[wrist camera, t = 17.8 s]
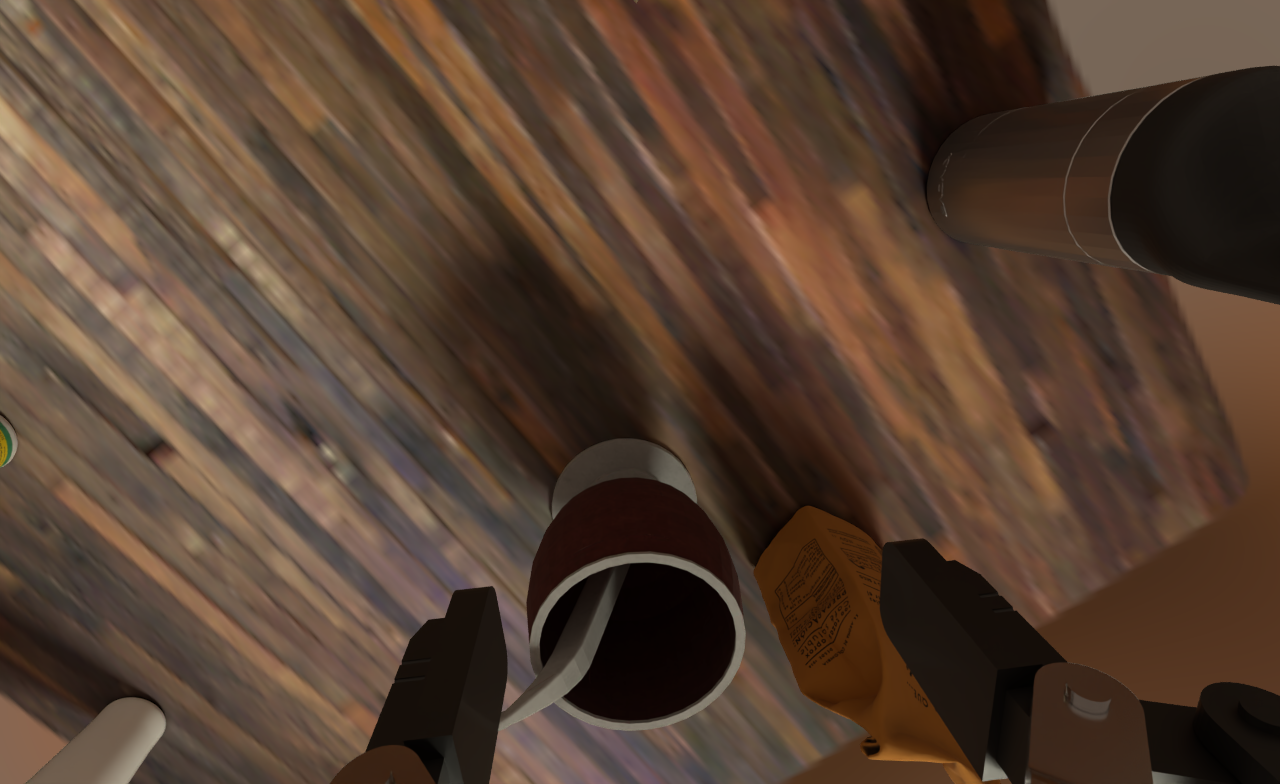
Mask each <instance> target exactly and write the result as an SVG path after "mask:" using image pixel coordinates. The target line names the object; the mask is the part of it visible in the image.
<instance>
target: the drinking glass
mask: <svg viewBox="0 0 1280 784" xmlns="http://www.w3.org/2000/svg"><path fill="white" fill-rule="evenodd" d="M165 727H166V719H165V716H164V714H163V712H162V711H161V709H160V708H159V707H158V706H156V705H155V704H154V703H152V702H150V701H148V700H145V699H142V698H136V697H126V698H121V699H118V700H115V701H113V702H111V703H110V704H108V705H107V706H106V707H105V708H104V709H103V710H102V711H101V712H100V713H99V714H98V715H97V716H96V717H95V718H94V720H93V721H92V722H91V723H90V724H89V725H88V726H86V727H85V728H84V729H83V730H82V731H81V732H80V733H79V734H78V735H77V736H76V737H75V738H74V739H73V740H72V741H70V742H69V743H68V744H67V745H66V746H65V747H64V748H63V749H62V750H61V751H60V752H59V753H58V754H57V755H55V756H54V757H53V758H52V759H51V760H50V761H49V762H48V763H47V764H46V765H45V766H44V767H42V768H41V769H40V770H39V771H38V772H37V773H36V774H35V775H34V776H33V777H32V778H31V779H30V780H28V781H27V782H26V783H25V784H128V783H129V782H130V780H131V779H132V777H133V776H134V774H135V773H136V771H137V770H138V768H139V767H140V765H141V764H142V762H143V761H144V759H145V758H146V756H147V755H148V753H149V752H150V751H151V749H152V748H153V747H154V745H155V744H156V743H157V741H158V740H159V739H160V738H161V736H162V735H163V733H164V731H165Z"/></svg>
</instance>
